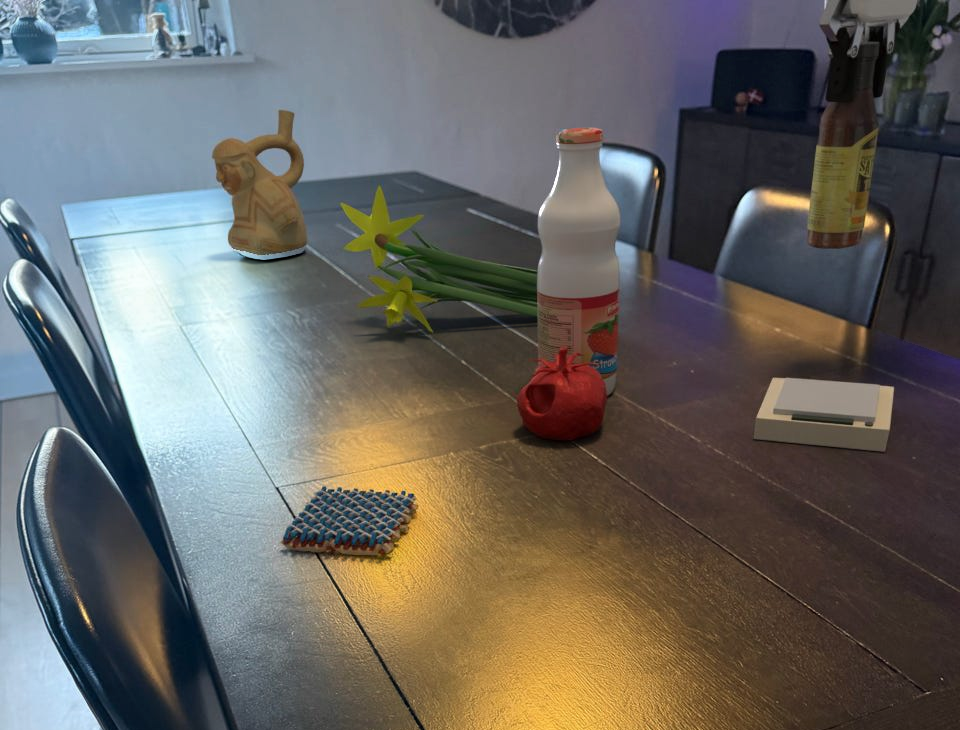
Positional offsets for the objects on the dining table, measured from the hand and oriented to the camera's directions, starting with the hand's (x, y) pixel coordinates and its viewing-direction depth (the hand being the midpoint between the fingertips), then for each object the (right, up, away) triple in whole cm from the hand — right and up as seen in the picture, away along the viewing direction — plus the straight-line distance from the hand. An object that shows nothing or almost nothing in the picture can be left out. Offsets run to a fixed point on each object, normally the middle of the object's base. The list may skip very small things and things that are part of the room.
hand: (853, 97), depth 99 cm
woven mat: (-52, -48, -14) cm, 72 cm away
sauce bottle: (+1, -12, +9) cm, 15 cm away
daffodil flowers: (-43, -11, +40) cm, 60 cm away
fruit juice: (-28, -28, +14) cm, 42 cm away
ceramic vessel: (-82, +19, +88) cm, 121 cm away
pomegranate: (-31, -35, +3) cm, 47 cm away
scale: (-3, -35, +1) cm, 35 cm away
